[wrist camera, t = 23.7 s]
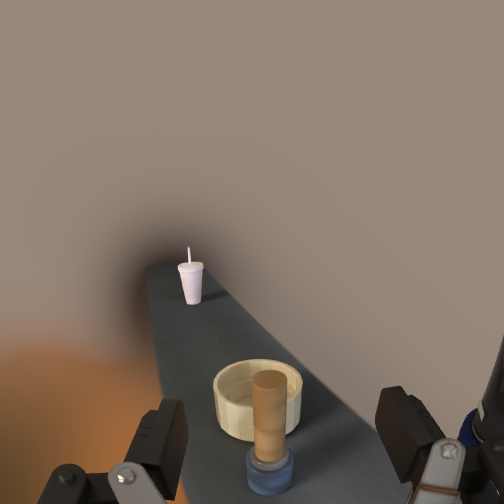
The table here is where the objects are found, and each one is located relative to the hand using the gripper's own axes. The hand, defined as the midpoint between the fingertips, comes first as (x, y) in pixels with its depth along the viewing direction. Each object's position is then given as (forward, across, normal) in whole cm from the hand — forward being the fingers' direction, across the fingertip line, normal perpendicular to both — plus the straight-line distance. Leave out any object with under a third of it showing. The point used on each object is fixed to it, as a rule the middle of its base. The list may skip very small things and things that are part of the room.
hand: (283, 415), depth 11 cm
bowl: (+22, +1, +20) cm, 30 cm away
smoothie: (+65, +17, +20) cm, 70 cm away
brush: (+11, 0, +20) cm, 23 cm away
